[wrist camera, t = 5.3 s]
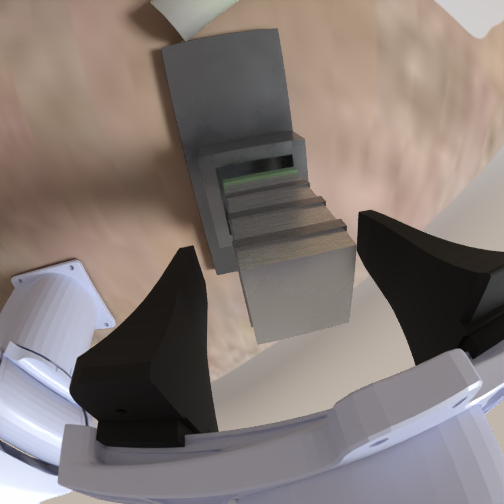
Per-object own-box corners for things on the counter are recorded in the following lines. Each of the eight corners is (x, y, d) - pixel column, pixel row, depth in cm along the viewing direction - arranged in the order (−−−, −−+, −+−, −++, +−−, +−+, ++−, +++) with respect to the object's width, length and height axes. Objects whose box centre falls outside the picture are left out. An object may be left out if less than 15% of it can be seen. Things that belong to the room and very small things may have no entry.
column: (235, 241, 17) (255, 346, 10) (222, 179, 14) (236, 268, 8) (299, 228, 17) (351, 323, 10) (294, 166, 14) (359, 241, 8)
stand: (216, 269, 23) (219, 304, 20) (163, 49, 14) (150, 40, 10) (300, 251, 23) (316, 283, 20) (274, 30, 14) (292, 18, 10)
